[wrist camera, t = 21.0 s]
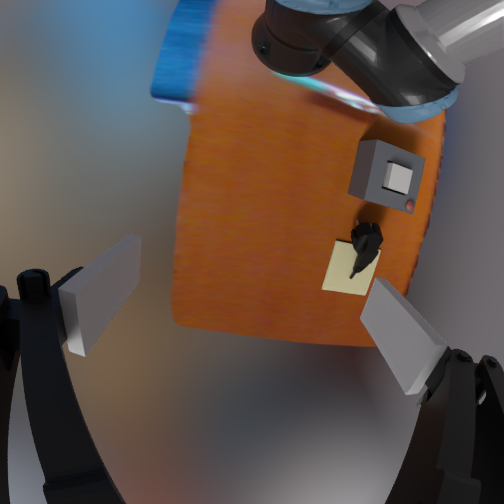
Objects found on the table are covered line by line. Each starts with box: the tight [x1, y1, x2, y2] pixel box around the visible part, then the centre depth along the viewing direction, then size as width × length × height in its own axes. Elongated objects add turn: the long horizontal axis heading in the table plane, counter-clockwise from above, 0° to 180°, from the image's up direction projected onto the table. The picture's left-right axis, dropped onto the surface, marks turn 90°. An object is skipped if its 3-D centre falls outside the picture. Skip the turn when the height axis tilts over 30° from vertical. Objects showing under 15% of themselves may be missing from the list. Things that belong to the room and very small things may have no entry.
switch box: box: [348, 139, 425, 215], centre depth 42 cm, size 10×10×8 cm
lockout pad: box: [322, 240, 381, 295], centre depth 52 cm, size 10×10×1 cm
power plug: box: [349, 220, 383, 279], centre depth 49 cm, size 6×8×12 cm
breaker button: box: [382, 163, 413, 194], centre depth 40 cm, size 4×4×4 cm
